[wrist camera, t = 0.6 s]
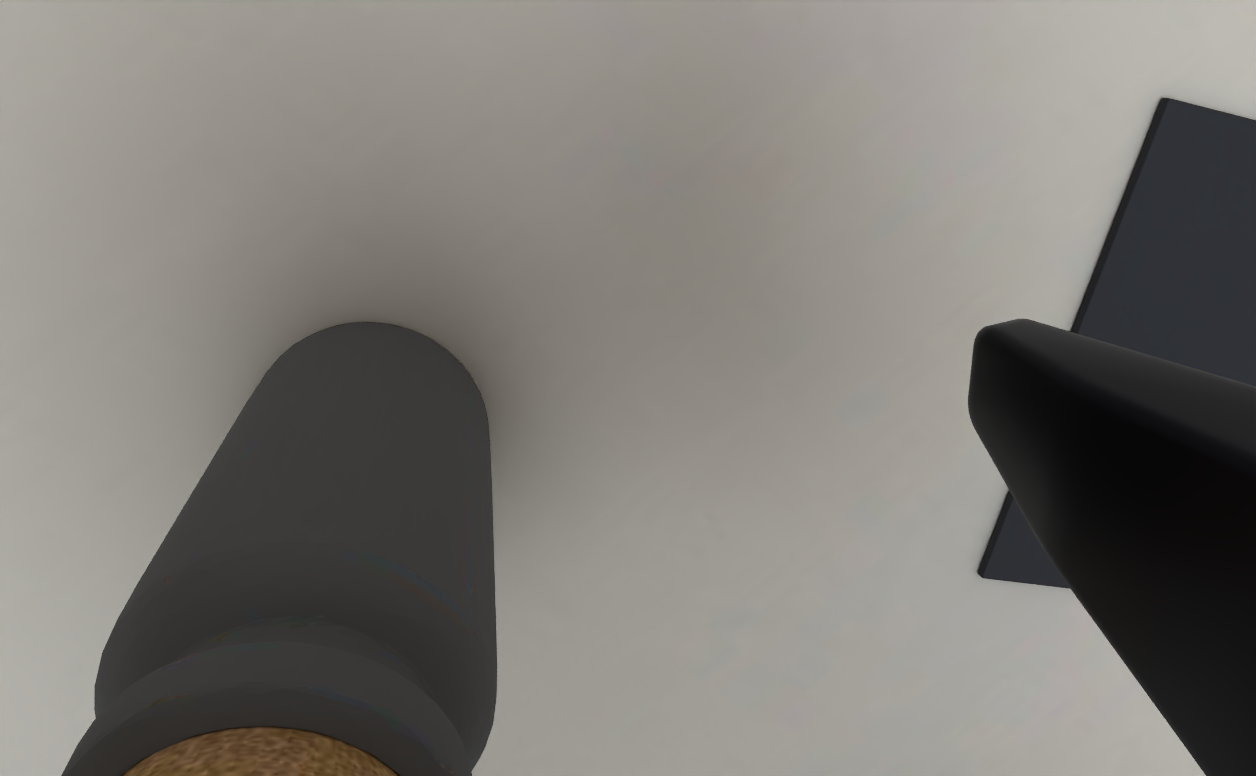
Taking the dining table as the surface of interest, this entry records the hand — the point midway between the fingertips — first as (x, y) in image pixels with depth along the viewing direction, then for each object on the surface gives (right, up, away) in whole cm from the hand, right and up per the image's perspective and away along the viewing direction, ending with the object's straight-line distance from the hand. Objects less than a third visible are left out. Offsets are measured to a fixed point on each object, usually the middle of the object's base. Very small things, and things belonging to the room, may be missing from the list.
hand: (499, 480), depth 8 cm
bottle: (-5, 0, +16) cm, 17 cm away
